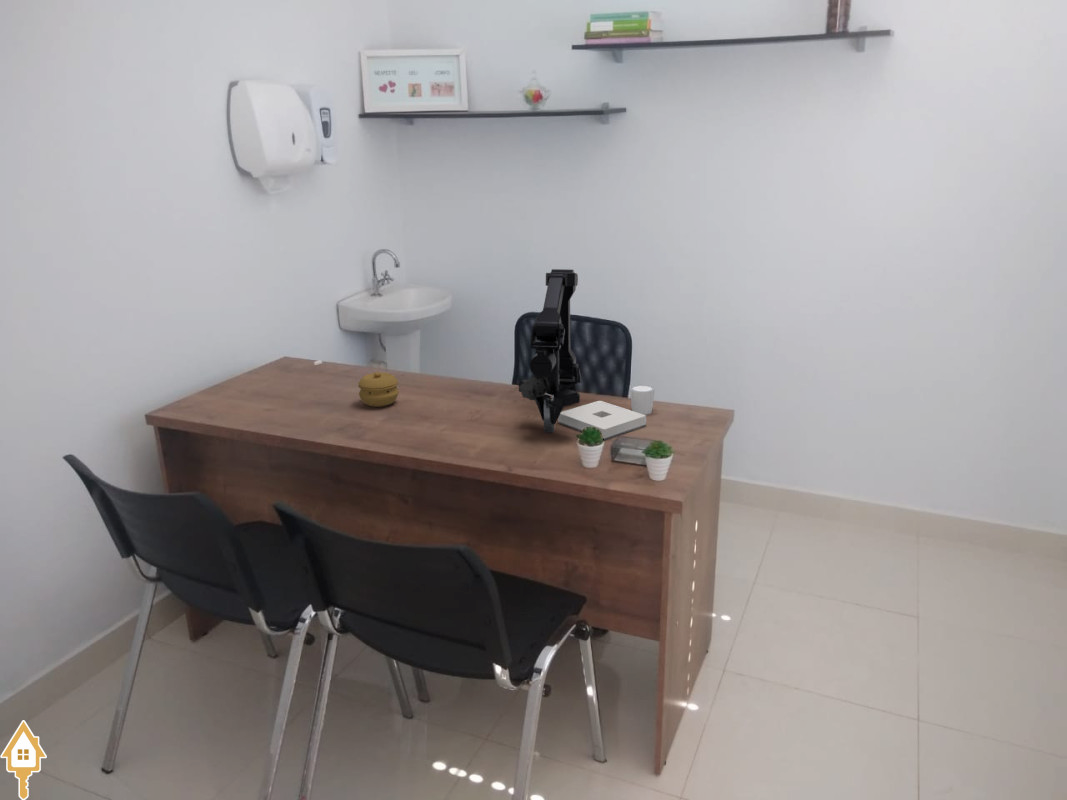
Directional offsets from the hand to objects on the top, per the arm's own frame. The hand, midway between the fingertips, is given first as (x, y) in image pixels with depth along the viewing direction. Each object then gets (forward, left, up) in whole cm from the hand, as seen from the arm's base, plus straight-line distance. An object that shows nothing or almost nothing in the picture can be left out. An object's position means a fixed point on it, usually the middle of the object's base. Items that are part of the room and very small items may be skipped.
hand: (549, 422), depth 222 cm
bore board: (+6, +14, -2) cm, 15 cm away
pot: (-52, -22, -3) cm, 57 cm away
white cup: (+6, +30, -3) cm, 31 cm away
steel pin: (0, 0, -2) cm, 2 cm away
